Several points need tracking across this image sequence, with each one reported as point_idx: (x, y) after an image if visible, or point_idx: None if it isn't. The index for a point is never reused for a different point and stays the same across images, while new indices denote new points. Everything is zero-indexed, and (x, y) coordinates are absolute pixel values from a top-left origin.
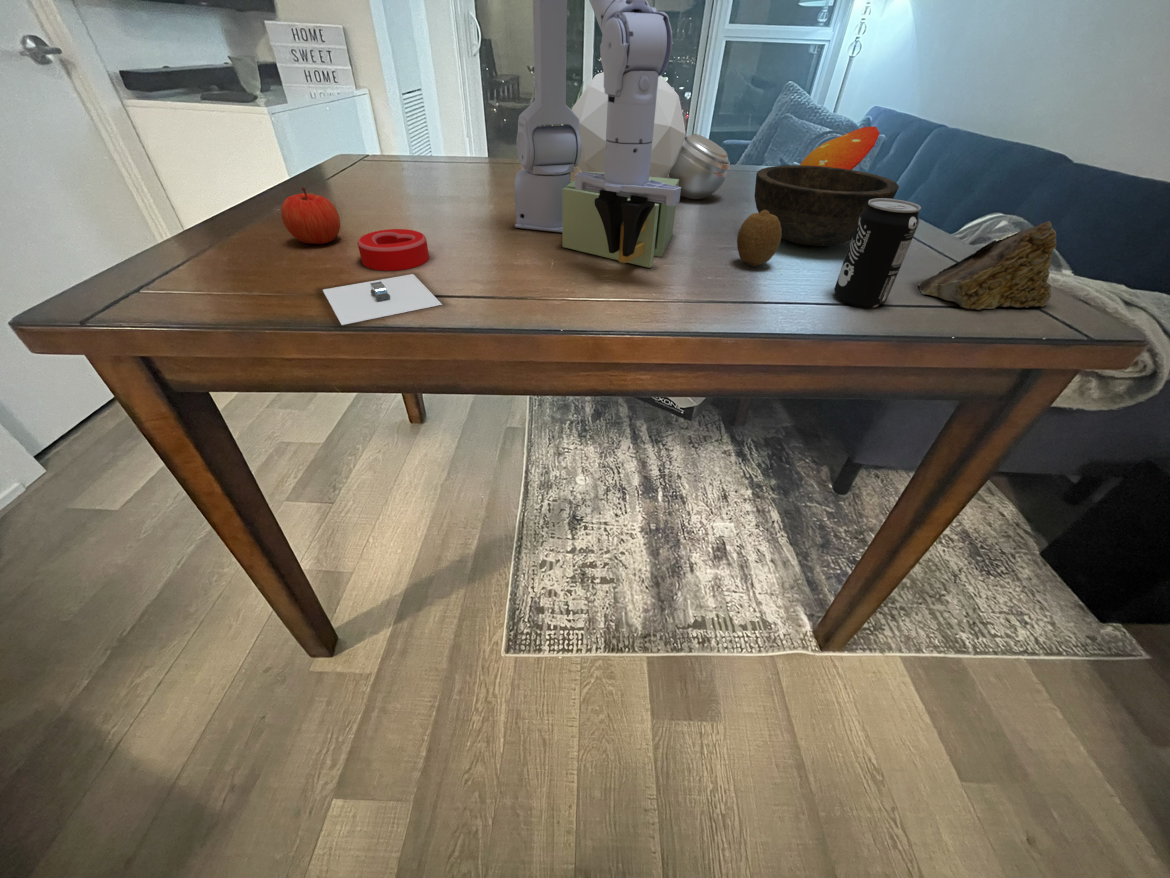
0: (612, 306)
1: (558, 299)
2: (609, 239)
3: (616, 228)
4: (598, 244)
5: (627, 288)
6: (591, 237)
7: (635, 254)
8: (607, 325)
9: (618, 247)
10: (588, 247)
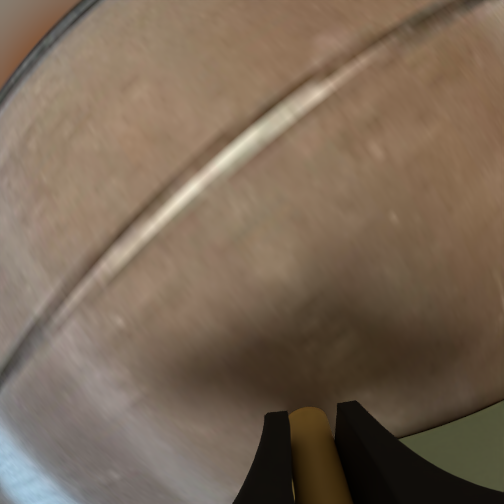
0: (156, 139)
1: (343, 65)
2: (370, 431)
3: (366, 493)
4: (438, 449)
5: (214, 311)
6: (464, 451)
7: None
8: (98, 32)
9: (337, 443)
10: (459, 430)
